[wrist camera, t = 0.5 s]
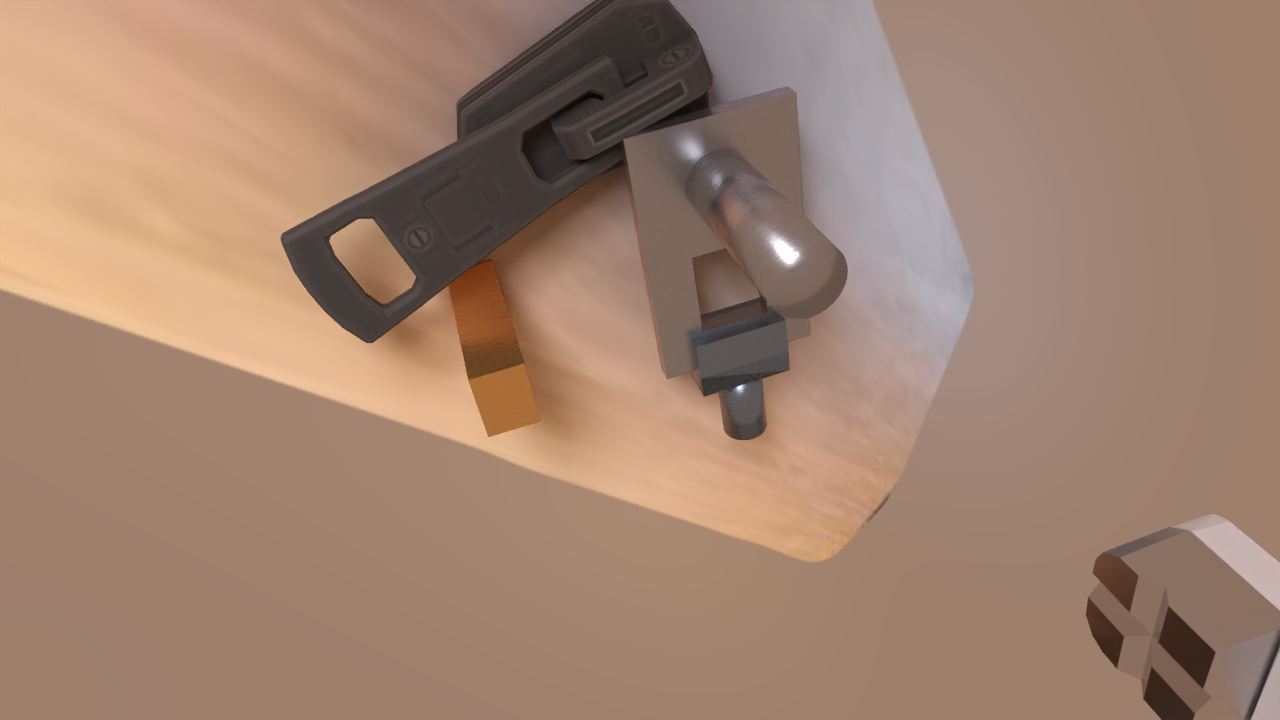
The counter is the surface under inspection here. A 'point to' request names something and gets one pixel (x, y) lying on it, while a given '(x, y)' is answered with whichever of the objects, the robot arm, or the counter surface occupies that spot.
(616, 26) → the zipper pull
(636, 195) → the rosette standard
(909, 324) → the counter surface
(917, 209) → the counter surface
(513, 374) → the orange wooden block
